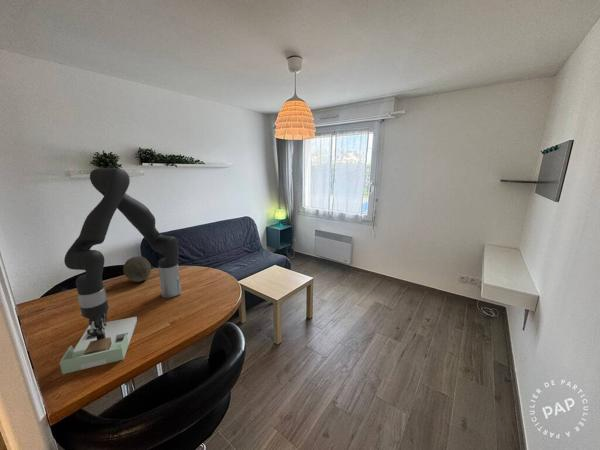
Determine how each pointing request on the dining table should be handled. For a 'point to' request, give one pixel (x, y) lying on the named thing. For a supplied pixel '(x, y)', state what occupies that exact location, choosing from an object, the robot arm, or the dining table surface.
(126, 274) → the cantaloupe
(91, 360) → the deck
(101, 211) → the robot arm
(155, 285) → the dining table surface
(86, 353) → the block
